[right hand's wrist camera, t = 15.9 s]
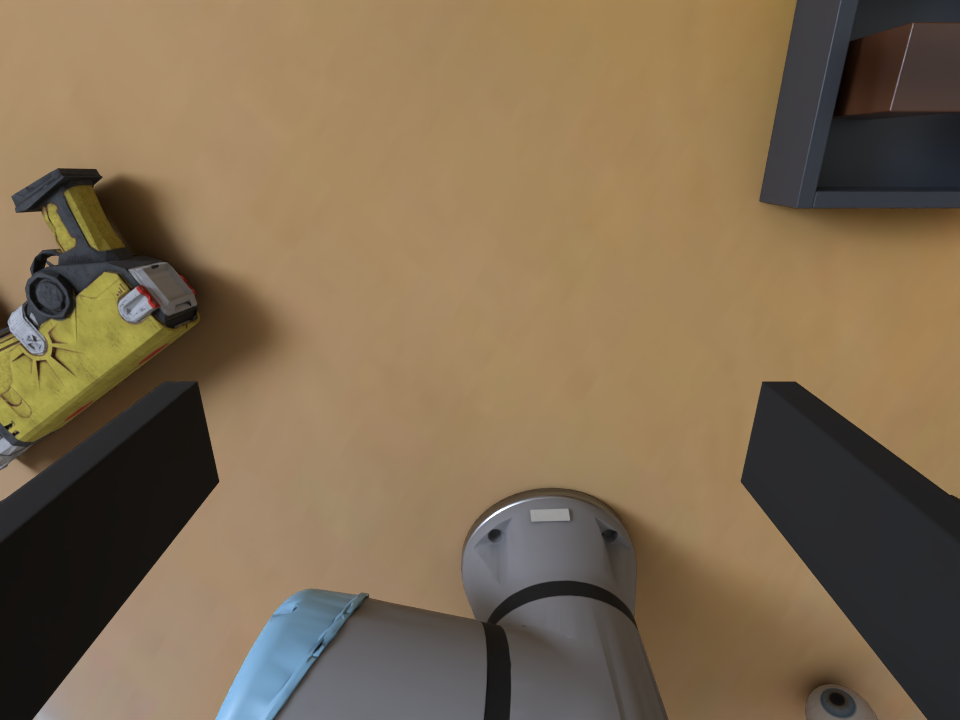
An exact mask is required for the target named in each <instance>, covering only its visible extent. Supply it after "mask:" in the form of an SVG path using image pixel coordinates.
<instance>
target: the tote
mask: <svg viewBox="0 0 960 720" xmlns="http://www.w3.org/2000/svg"><path fill="white" fill-rule="evenodd" d="M913 22H960V0H797V4H796V10H795V15H794V20H793V26H792V31H791V36H790V41H789V47H788V52H787V57H786V63H785V68H784V73H783V79H782V84H781V89H780V95H779V100H778V105H777V110H776V116H775V121H774V126H773V132H772V137H771V142H770V148H769V153H768V158H767V164H766V169H765V174H764V179H763V185H762V190H761V195H760V202H765V203H770V204H776V205H781V206H787V207H792V208H960V113H948V114H935V115H922V116H909V117H896V118H884V119H832V117H833V113H834V108H835V104H836V100H837V95H838V91H839V86H840V82H841V77H842V73H843V68H844V64H845V60H846V55H847V51H848V46H849V42H850V41H852V40H855V39H858V38H862V37H865V36H869V35H872V34H875V33H879V32H882V31H886V30H889V29H892V28H896V27H899V26H903V25H906V24H909V23H913Z"/></svg>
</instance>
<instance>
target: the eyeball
mask: <svg viewBox="0 0 960 720" xmlns="http://www.w3.org/2000/svg"><path fill="white" fill-rule="evenodd" d="M805 713H806V719H807V720H878V719H877V716H876V714H875V713H874V711H873V710H872V708H871V707H870V705H869V704H868V703H867V702H866V701H865V700H864V699H863V698H862V697H861V696H860V695H859V694H858V693H856V692H854V691H852V690H851V689H849V688H847V687H844V686H841V685H836V684H827V685H822V686H819V687H817V688H816V689H814V690H813V691H812V692H811V694H810V695H809V696H808V698H807V702H806V707H805Z"/></svg>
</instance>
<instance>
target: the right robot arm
mask: <svg viewBox="0 0 960 720" xmlns="http://www.w3.org/2000/svg"><path fill="white" fill-rule="evenodd" d="M218 483H219V478H218V473H217V469H216V464H215V460H214V455H213V450H212V446H211V441H210V437H209V432H208V427H207V423H206V418H205V414H204V409H203V404H202V400H201V395H200V391H199V386H198V382H163V383H162V384H161V385H159V386H158V387H157V388H155V389H154V390H153V391H151V392H150V393H148V394H147V395H146V396H144V397H143V398H142V399H140V400H139V401H138V402H136V403H135V404H133V405H132V406H131V407H129V408H128V409H127V410H125V411H124V412H123V413H121V414H120V415H119V416H117V417H116V418H114V419H113V420H112V421H110V422H109V423H108V424H106V425H105V426H104V427H102V428H101V429H99V430H98V431H97V432H95V433H94V434H93V435H91V436H90V437H89V438H87V439H86V440H85V441H83V442H82V443H80V444H79V445H78V446H76V447H75V448H74V449H72V450H71V451H70V452H68V453H67V454H65V455H64V456H63V457H61V458H60V459H59V460H57V461H56V462H55V463H53V464H52V465H50V466H49V467H48V468H46V469H45V470H44V471H42V472H41V473H40V474H38V475H37V476H36V477H34V478H33V479H31V480H30V481H29V482H27V483H26V484H25V485H23V486H22V487H21V488H19V489H18V490H16V491H15V492H14V493H12V494H11V495H10V496H8V497H7V498H6V499H4V500H2V501H0V720H33V718H34V717H35V716H36V714H37V713H38V712H39V711H40V709H41V708H42V707H43V706H44V704H45V703H46V702H47V700H48V699H49V698H50V697H51V695H52V694H53V693H54V692H55V690H56V689H57V688H58V686H59V685H60V684H61V683H62V681H63V680H64V679H65V678H66V676H67V675H68V674H69V672H70V671H71V670H72V669H73V667H74V666H75V665H76V664H77V662H78V661H79V660H80V658H81V657H82V656H83V655H84V653H85V652H86V651H87V649H88V648H89V647H90V646H91V644H92V643H93V642H94V641H95V639H96V638H97V637H98V635H99V634H100V633H101V632H102V630H103V629H104V628H105V627H106V625H107V624H108V623H109V621H110V620H111V619H112V618H113V616H114V615H115V614H116V613H117V611H118V610H119V609H120V607H121V606H122V605H123V604H124V602H125V601H126V600H127V599H128V597H129V596H130V595H131V593H132V592H133V591H134V590H135V588H136V587H137V586H138V585H139V583H140V582H141V581H142V579H143V578H144V577H145V576H146V574H147V573H148V572H149V571H150V569H151V568H152V567H153V565H154V564H155V563H156V562H157V560H158V559H159V558H160V557H161V555H162V554H163V553H164V551H165V550H166V549H167V548H168V546H169V545H170V544H171V543H172V541H173V540H174V539H175V537H176V536H177V535H178V534H179V532H180V531H181V530H182V529H183V527H184V526H185V525H186V523H187V522H188V521H189V520H190V518H191V517H192V516H193V515H194V513H195V512H196V511H197V509H198V508H199V507H200V506H201V504H202V503H203V502H204V501H205V499H206V498H207V497H208V495H209V494H210V493H211V492H212V490H213V489H214V488H215V487H216V485H217V484H218ZM741 483H742V484H743V485H744V487H745V488H746V489H747V490H748V492H749V493H750V494H751V495H752V497H753V498H754V499H755V501H756V502H757V503H758V504H759V506H760V507H761V508H762V509H763V511H764V512H765V513H766V515H767V516H768V517H769V518H770V520H771V521H772V522H773V523H774V525H775V526H776V527H777V529H778V530H779V531H780V532H781V534H782V535H783V536H784V537H785V539H786V540H787V541H788V543H789V544H790V545H791V546H792V548H793V549H794V550H795V551H796V553H797V554H798V555H799V557H800V558H801V559H802V560H803V562H804V563H805V564H806V565H807V567H808V568H809V569H810V571H811V572H812V573H813V574H814V576H815V577H816V578H817V579H818V581H819V582H820V583H821V585H822V586H823V587H824V588H825V590H826V591H827V592H828V593H829V595H830V596H831V597H832V599H833V600H834V601H835V602H836V604H837V605H838V606H839V607H840V609H841V610H842V611H843V613H844V614H845V615H846V616H847V618H848V619H849V620H850V621H851V623H852V624H853V625H854V627H855V628H856V629H857V630H858V632H859V633H860V634H861V635H862V637H863V638H864V639H865V641H866V642H867V643H868V644H869V646H870V647H871V648H872V649H873V651H874V652H875V653H876V655H877V656H878V657H879V658H880V660H881V661H882V662H883V664H884V665H885V666H886V667H887V669H888V670H889V671H890V672H891V674H892V675H893V676H894V678H895V679H896V680H897V681H898V683H899V684H900V685H901V686H902V688H903V689H904V690H905V692H906V693H907V694H908V695H909V697H910V698H911V699H912V700H913V702H914V703H915V704H916V706H917V707H918V708H919V709H920V711H921V712H922V713H923V714H924V716H925V717H926V718H927V720H960V499H959V498H957V497H955V496H953V495H949V494H948V493H946V492H945V491H944V490H942V489H941V488H939V487H938V486H937V485H935V484H934V483H933V482H931V481H930V480H929V479H927V478H926V477H924V476H923V475H922V474H920V473H919V472H918V471H916V470H915V469H914V468H912V467H911V466H910V465H908V464H907V463H905V462H904V461H903V460H901V459H900V458H899V457H897V456H896V455H895V454H893V453H892V452H890V451H889V450H888V449H886V448H885V447H884V446H882V445H881V444H880V443H878V442H877V441H875V440H874V439H873V438H871V437H870V436H869V435H867V434H866V433H865V432H863V431H862V430H861V429H859V428H858V427H856V426H855V425H854V424H852V423H851V422H850V421H848V420H847V419H846V418H844V417H843V416H841V415H840V414H839V413H837V412H836V411H835V410H833V409H832V408H831V407H829V406H828V405H827V404H825V403H824V402H822V401H821V400H820V399H818V398H817V397H816V396H814V395H813V394H812V393H810V392H809V391H807V390H806V389H805V388H803V387H802V386H801V385H799V384H798V383H797V382H762V386H761V391H760V395H759V400H758V404H757V409H756V414H755V418H754V423H753V427H752V432H751V437H750V441H749V446H748V450H747V455H746V460H745V464H744V469H743V473H742V478H741ZM636 575H637V566H636V558H635V552H634V548H633V545H632V542H631V539H630V537H629V534H628V532H627V529H626V527H625V525H624V524H623V522H622V521H621V519H620V518H619V517H618V516H617V514H616V513H615V512H614V511H613V510H612V509H610V508H609V507H608V506H607V505H605V504H604V503H602V502H601V501H599V500H597V499H595V498H593V497H591V496H589V495H586V494H584V493H580V492H577V491H573V490H568V489H560V488H542V489H534V490H529V491H524V492H521V493H517V494H514V495H512V496H509V497H507V498H505V499H503V500H501V501H499V502H498V503H496V504H494V505H493V506H492V507H490V508H489V509H487V510H486V511H485V512H484V513H483V514H482V515H481V516H480V517H479V518H478V519H477V520H476V522H475V523H474V524H473V526H472V527H471V529H470V531H469V532H468V534H467V537H466V539H465V542H464V546H463V551H462V578H463V584H464V589H465V593H466V595H467V598H468V601H469V603H470V606H471V608H472V611H473V613H474V616H475V619H476V620H474V619H469V618H464V617H459V616H454V615H449V614H444V613H439V612H434V611H429V610H424V609H419V608H414V607H409V606H404V605H399V604H394V603H389V602H385V601H380V600H376V599H371V598H369V594H367V593H360V594H358V595H354V594H347V593H341V592H334V591H327V590H320V589H306V590H302V591H299V592H297V593H295V594H294V595H292V596H291V597H289V598H288V599H287V600H285V601H284V602H283V603H282V604H281V605H280V607H279V608H278V609H277V610H276V611H275V613H274V614H273V615H272V617H271V618H270V619H269V621H268V622H267V624H266V625H265V627H264V628H263V630H262V632H261V633H260V635H259V636H258V638H257V640H256V642H255V643H254V645H253V647H252V648H251V650H250V652H249V654H248V656H247V657H246V659H245V661H244V663H243V665H242V667H241V669H240V670H239V672H238V674H237V676H236V678H235V680H234V682H233V684H232V686H231V688H230V690H229V692H228V694H227V696H226V698H225V700H224V702H223V704H222V706H221V709H220V711H219V713H218V715H217V717H216V719H215V720H668V717H667V714H666V711H665V708H664V705H663V702H662V699H661V696H660V693H659V690H658V687H657V684H656V682H655V679H654V676H653V673H652V670H651V667H650V664H649V661H648V658H647V655H646V652H645V649H644V646H643V643H642V640H641V637H640V634H639V631H638V628H637V625H636V622H635V619H634V612H635V593H636Z"/></svg>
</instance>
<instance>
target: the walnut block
mask: <svg viewBox="0 0 960 720" xmlns="http://www.w3.org/2000/svg"><path fill="white" fill-rule="evenodd" d="M948 113H960V22H913V23H909V24H906V25H903V26H899V27H896V28H892V29H889V30H886V31H882V32H879V33H875V34H872V35H869V36H865V37H862V38H858V39H855V40H852V41H850V42H849V46H848V51H847V55H846V60H845V64H844V68H843V73H842V77H841V82H840V86H839V91H838V95H837V100H836V104H835V108H834V113H833V117H832V119H884V118H896V117H909V116H922V115H935V114H948Z"/></svg>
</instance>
